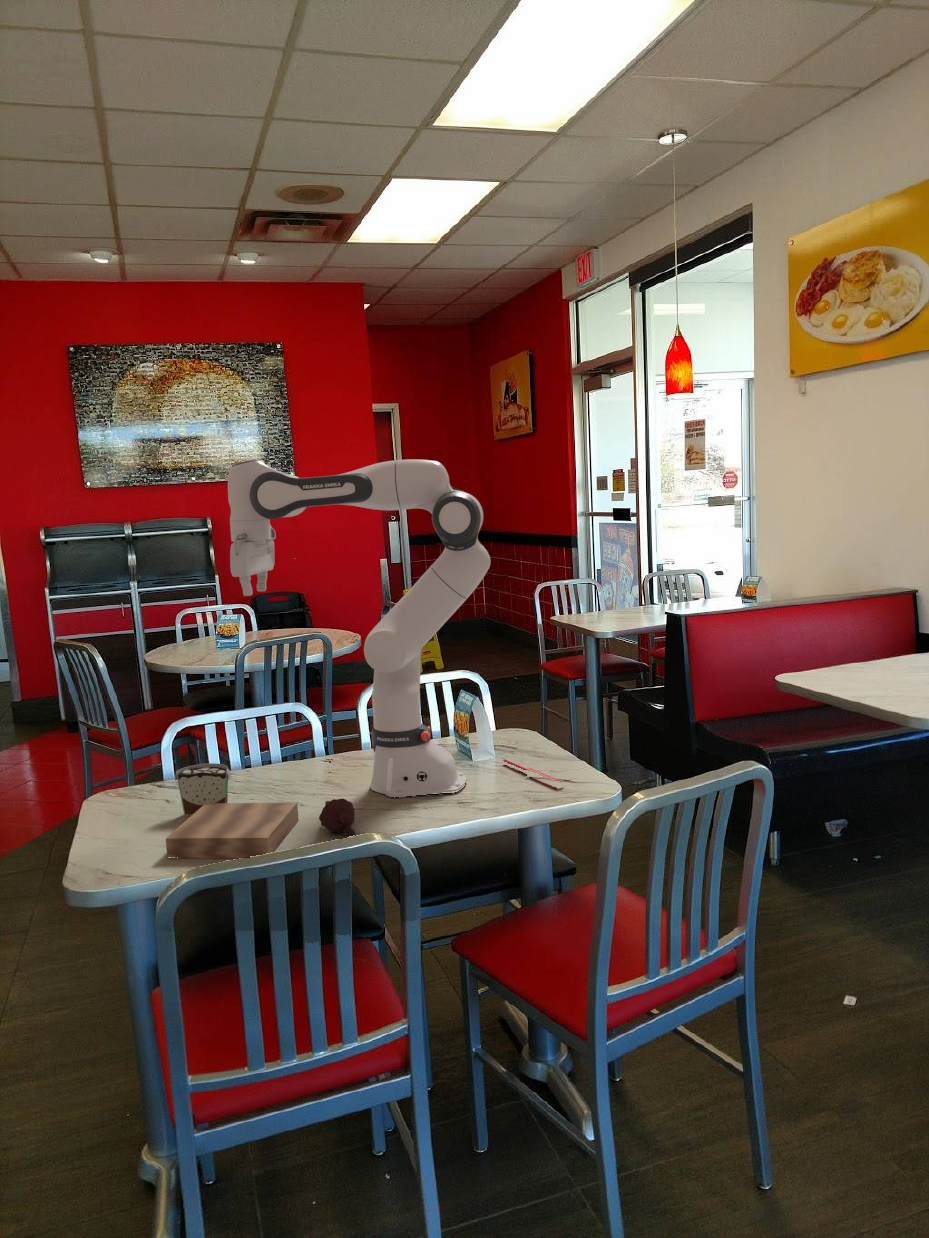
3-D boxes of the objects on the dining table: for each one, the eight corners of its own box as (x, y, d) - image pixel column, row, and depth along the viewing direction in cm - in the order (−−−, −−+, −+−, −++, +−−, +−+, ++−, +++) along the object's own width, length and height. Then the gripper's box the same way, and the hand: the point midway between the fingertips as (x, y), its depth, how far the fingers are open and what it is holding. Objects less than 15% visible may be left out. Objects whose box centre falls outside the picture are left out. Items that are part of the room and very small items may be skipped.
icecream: (305, 794, 187) (327, 822, 173) (338, 780, 189) (362, 806, 176) (314, 823, 189) (337, 852, 176) (347, 808, 191) (371, 836, 178)
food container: (242, 805, 201) (238, 762, 200) (232, 815, 195) (228, 770, 194) (189, 806, 203) (185, 762, 201) (177, 815, 196) (173, 771, 195)
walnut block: (298, 820, 190) (297, 802, 189) (269, 858, 170) (267, 837, 170) (207, 821, 192) (205, 803, 191) (167, 858, 172) (165, 838, 172)
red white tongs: (551, 796, 202) (568, 786, 204) (549, 787, 201) (565, 777, 203) (497, 770, 223) (512, 761, 225) (494, 763, 222) (509, 754, 224)
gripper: (248, 534, 195) (253, 597, 196) (277, 531, 215) (281, 588, 216) (220, 535, 195) (225, 598, 197) (252, 531, 215) (256, 589, 217)
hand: (255, 593), depth 207 cm, fingers open, 8 cm apart
